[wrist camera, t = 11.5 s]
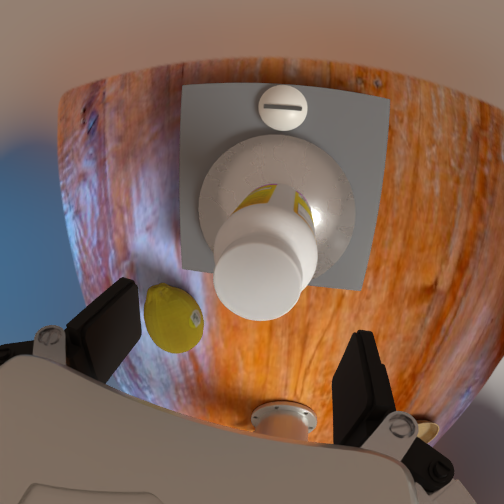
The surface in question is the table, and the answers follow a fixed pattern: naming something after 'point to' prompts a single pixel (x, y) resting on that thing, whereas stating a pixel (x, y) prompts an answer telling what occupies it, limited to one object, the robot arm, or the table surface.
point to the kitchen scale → (291, 124)
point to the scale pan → (285, 172)
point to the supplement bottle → (265, 253)
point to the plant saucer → (427, 430)
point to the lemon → (172, 318)
